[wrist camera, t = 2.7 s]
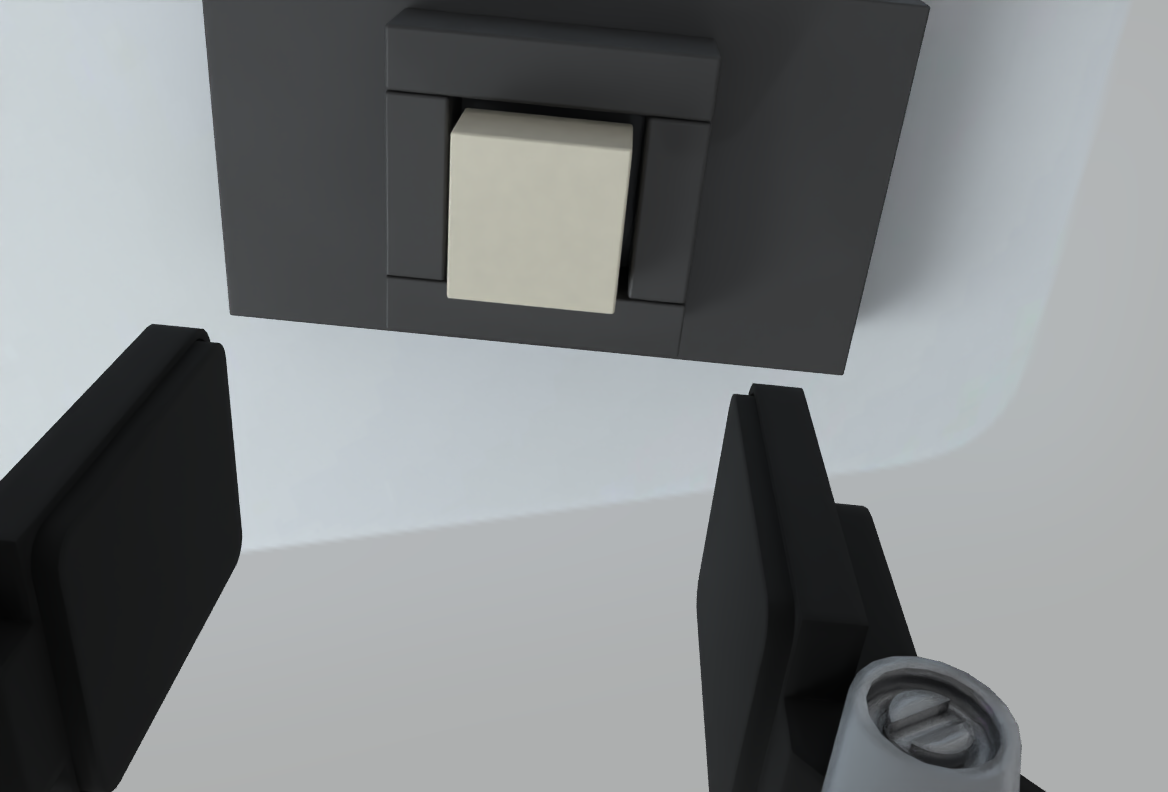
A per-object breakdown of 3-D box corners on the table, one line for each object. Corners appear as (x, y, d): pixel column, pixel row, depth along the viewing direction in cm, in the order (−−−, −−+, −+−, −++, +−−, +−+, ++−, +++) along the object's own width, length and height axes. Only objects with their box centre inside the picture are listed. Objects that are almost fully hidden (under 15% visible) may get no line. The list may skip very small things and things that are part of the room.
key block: (905, -11, 22) (956, 23, 18) (828, 333, 26) (858, 416, 22) (234, -78, 22) (156, -56, 18) (259, 278, 26) (199, 351, 22)
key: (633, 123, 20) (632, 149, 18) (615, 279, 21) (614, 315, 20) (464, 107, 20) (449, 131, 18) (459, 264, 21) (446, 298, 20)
